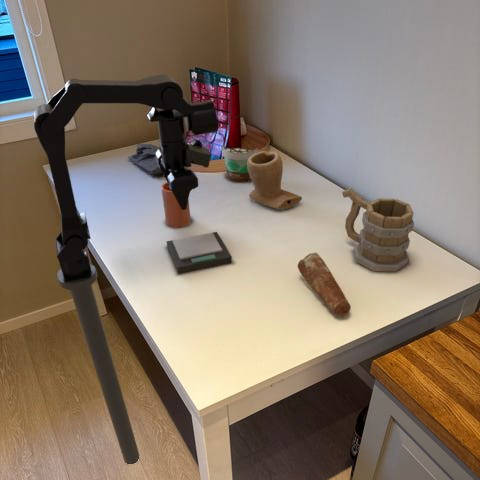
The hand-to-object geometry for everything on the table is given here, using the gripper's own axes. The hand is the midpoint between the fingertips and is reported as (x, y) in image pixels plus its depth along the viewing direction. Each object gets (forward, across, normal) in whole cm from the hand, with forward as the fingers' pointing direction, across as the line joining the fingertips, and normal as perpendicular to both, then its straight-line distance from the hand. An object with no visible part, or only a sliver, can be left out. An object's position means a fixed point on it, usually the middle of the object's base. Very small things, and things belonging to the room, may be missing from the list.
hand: (179, 201), depth 120 cm
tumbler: (+14, +15, -2) cm, 21 cm away
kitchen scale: (+14, -4, -3) cm, 15 cm away
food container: (+14, +35, -27) cm, 46 cm away
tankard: (+14, -18, -45) cm, 50 cm away
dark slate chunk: (+14, +57, -4) cm, 59 cm away
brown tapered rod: (+14, -30, -27) cm, 43 cm away
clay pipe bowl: (+14, +16, -31) cm, 37 cm away
